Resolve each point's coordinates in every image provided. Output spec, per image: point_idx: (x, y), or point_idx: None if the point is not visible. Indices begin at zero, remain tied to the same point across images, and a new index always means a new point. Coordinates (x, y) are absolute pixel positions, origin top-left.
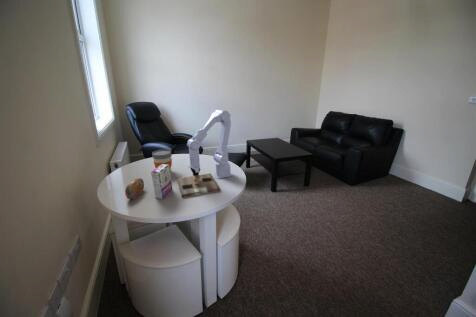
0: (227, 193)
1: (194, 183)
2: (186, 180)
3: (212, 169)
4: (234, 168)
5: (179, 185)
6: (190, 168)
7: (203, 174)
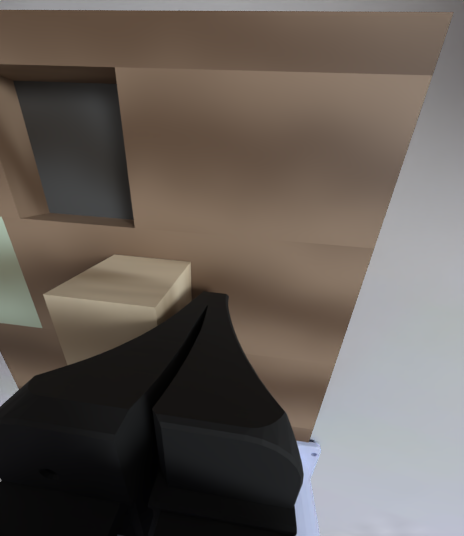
0: (11, 393)
1: (112, 258)
2: (264, 184)
3: (424, 463)
4: (329, 532)
5: (125, 19)
6: (224, 437)
7: (323, 396)
